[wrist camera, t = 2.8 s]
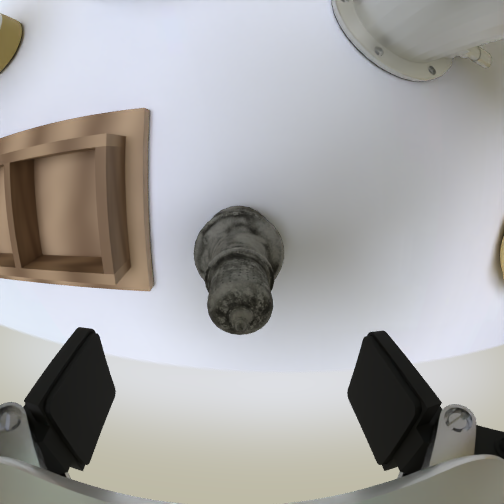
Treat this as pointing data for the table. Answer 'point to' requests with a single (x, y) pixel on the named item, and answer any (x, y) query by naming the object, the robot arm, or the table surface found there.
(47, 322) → the table surface
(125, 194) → the condiment rack
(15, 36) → the paper tube
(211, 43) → the table surface
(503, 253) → the sculpture
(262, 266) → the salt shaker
